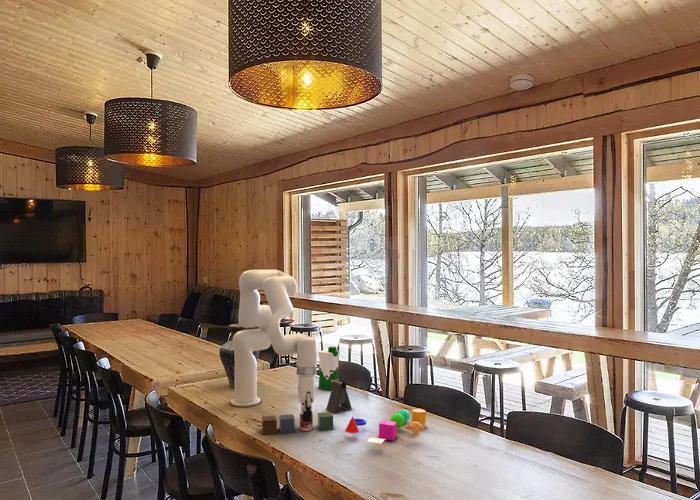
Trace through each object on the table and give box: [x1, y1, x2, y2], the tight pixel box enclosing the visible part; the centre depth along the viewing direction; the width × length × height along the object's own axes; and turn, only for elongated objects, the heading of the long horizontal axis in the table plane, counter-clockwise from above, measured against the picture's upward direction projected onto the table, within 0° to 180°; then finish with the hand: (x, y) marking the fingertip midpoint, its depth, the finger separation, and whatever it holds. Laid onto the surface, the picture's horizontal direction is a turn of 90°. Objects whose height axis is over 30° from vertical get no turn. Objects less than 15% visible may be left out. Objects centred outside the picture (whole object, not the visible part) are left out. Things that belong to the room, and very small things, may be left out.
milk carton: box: [317, 346, 341, 392], centre depth 245 cm, size 9×9×20 cm
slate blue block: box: [279, 413, 296, 434], centre depth 187 cm, size 5×5×5 cm
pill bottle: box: [299, 405, 314, 432], centre depth 188 cm, size 5×5×8 cm
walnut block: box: [261, 415, 278, 436], centre depth 185 cm, size 5×5×5 cm
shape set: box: [344, 408, 427, 444], centre depth 183 cm, size 29×35×7 cm
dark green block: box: [317, 411, 334, 431], centre depth 190 cm, size 5×5×5 cm
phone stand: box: [325, 379, 353, 414], centre depth 212 cm, size 9×6×12 cm, turn 127°
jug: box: [218, 323, 261, 388], centre depth 249 cm, size 21×19×30 cm
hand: (306, 418), depth 188 cm, fingers closed on pill bottle, 4 cm apart
